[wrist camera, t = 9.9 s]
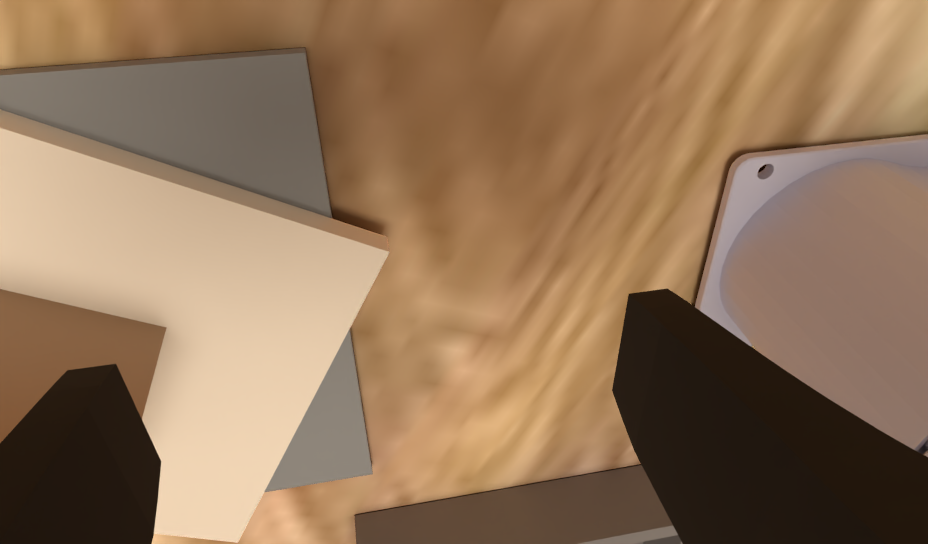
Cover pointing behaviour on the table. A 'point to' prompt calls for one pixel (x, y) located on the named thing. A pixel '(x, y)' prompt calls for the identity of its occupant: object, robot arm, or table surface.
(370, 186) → the table surface
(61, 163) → the lid
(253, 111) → the slate mat
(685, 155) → the table surface
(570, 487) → the storage box
